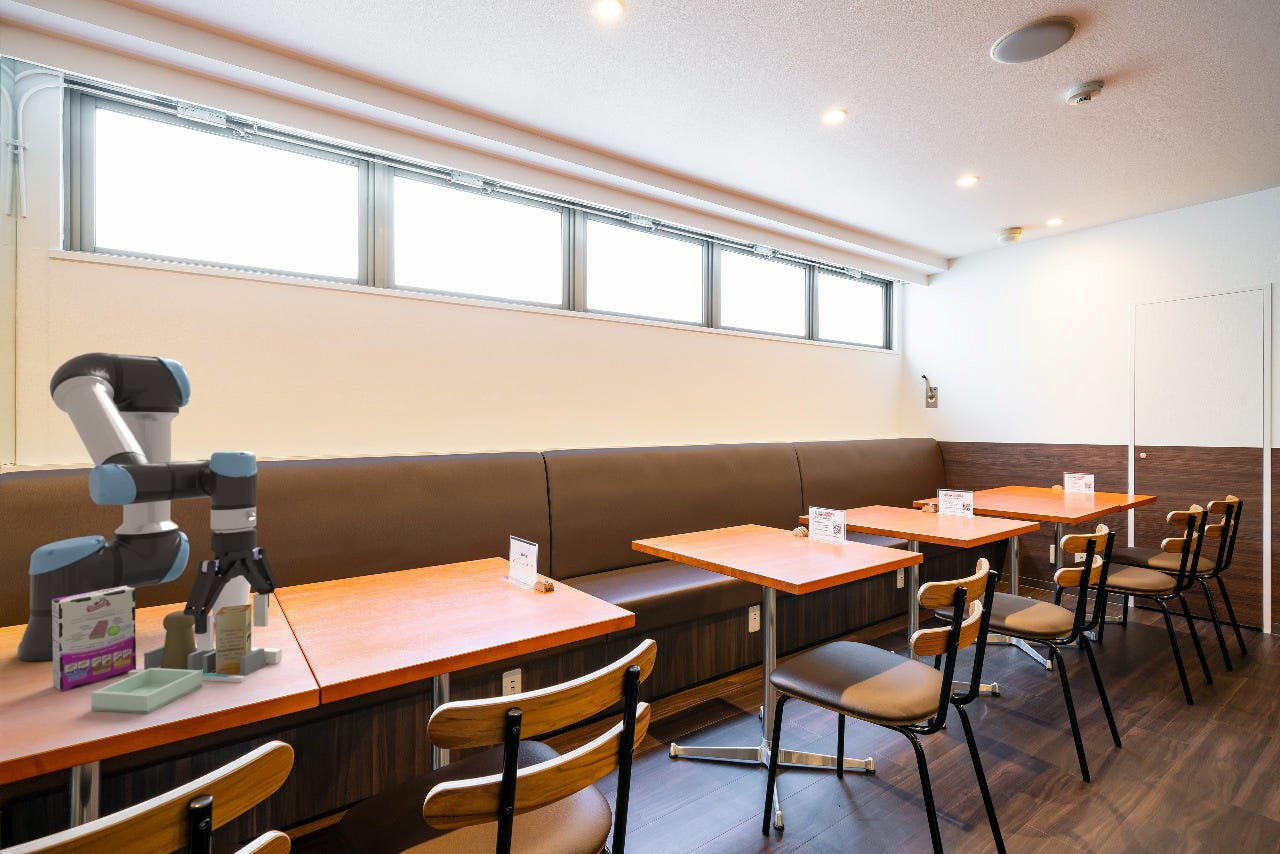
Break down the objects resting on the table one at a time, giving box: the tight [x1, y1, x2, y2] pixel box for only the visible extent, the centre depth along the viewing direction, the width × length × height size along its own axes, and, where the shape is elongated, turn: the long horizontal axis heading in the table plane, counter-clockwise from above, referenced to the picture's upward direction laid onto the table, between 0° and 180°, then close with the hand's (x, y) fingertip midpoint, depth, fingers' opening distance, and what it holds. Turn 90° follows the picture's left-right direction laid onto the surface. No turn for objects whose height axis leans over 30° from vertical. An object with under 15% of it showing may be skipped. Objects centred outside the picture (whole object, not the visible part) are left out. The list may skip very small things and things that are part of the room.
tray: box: [90, 667, 203, 715], centre depth 105 cm, size 11×11×3 cm
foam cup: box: [211, 575, 252, 625], centre depth 147 cm, size 10×9×13 cm
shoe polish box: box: [215, 603, 252, 675], centre depth 117 cm, size 5×5×12 cm
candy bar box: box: [52, 586, 137, 692], centre depth 113 cm, size 11×5×16 cm, turn 148°
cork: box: [160, 609, 196, 670], centre depth 118 cm, size 6×6×11 cm
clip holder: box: [127, 644, 283, 683], centre depth 118 cm, size 24×10×4 cm, turn 83°
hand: (234, 637), depth 117 cm, fingers open, 13 cm apart
